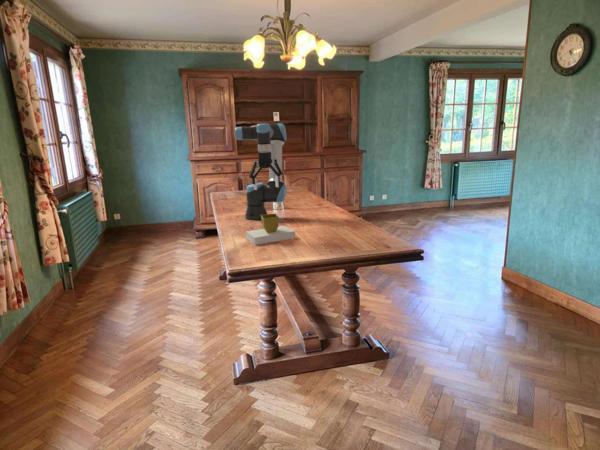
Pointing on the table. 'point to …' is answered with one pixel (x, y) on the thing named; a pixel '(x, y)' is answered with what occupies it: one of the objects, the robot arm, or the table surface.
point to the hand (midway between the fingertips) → (266, 188)
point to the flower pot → (270, 222)
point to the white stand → (270, 235)
